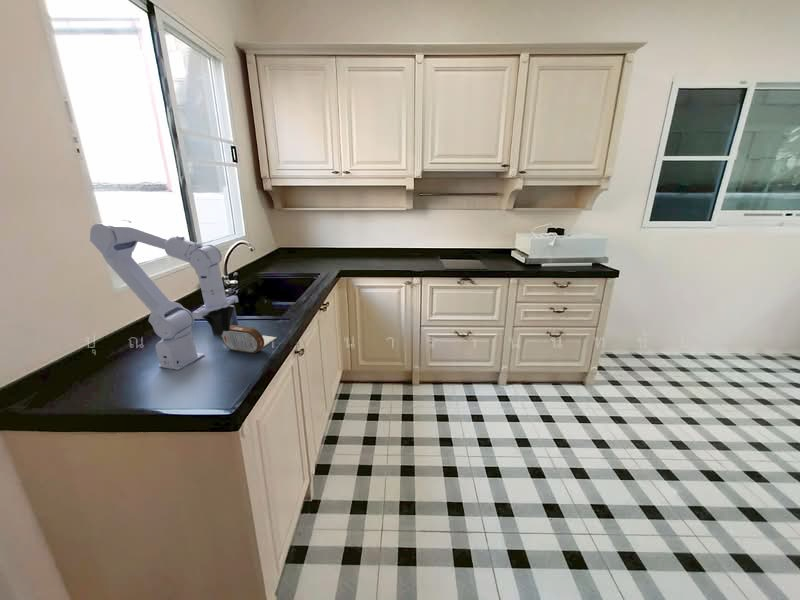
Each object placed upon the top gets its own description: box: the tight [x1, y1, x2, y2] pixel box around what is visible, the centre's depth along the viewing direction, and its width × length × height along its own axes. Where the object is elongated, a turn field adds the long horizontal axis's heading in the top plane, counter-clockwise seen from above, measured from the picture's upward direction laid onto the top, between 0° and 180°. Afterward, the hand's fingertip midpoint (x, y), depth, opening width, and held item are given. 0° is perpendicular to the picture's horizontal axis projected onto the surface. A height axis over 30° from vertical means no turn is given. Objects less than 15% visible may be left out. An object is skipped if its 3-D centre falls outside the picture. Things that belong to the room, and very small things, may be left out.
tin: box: [220, 325, 265, 354], centre depth 108 cm, size 15×3×8 cm, turn 72°
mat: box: [261, 334, 277, 348], centre depth 115 cm, size 8×10×1 cm
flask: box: [210, 304, 240, 336], centre depth 123 cm, size 9×3×11 cm, turn 138°
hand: (222, 332), depth 100 cm, fingers open, 2 cm apart
